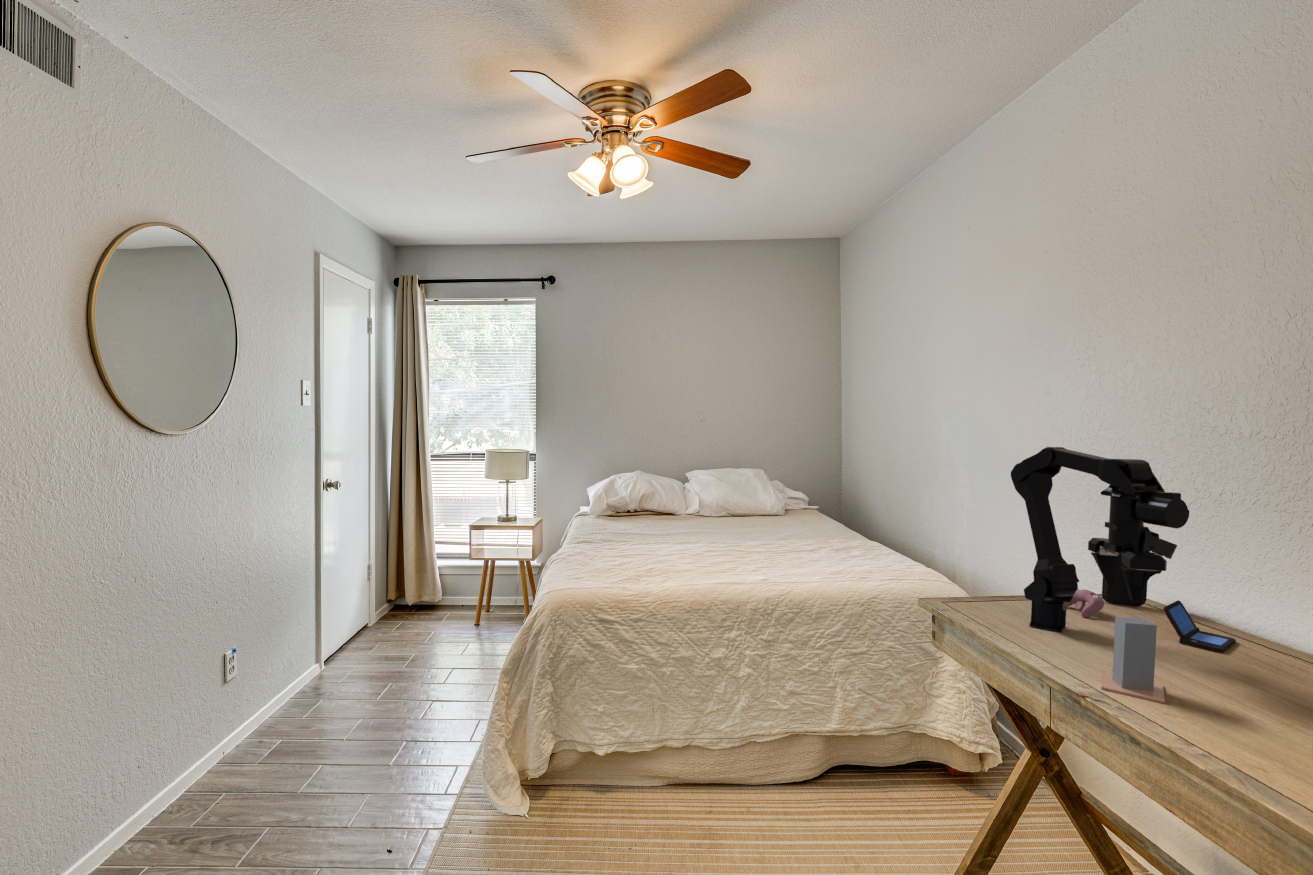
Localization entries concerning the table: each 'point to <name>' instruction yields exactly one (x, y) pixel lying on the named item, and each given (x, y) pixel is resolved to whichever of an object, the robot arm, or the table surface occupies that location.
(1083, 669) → the table surface
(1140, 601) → the carrying case or bag
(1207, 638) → the handheld game console
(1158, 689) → the terracotta pad
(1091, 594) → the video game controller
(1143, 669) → the grey rectangular pillar
